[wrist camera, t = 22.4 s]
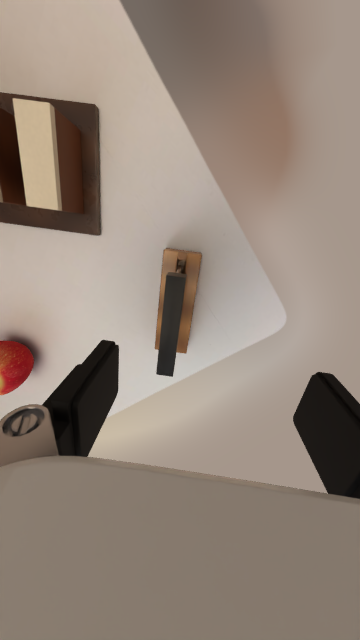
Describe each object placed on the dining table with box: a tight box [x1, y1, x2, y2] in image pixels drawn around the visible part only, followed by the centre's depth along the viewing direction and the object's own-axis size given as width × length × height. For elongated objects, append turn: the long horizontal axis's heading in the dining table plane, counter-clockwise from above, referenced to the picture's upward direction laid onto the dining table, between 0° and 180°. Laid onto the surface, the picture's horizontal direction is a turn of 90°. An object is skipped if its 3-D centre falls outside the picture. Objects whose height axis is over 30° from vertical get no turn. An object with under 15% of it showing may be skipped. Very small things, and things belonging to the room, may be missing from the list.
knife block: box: [155, 248, 202, 353], centre depth 33 cm, size 15×5×3 cm, turn 173°
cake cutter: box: [156, 262, 187, 377], centre depth 29 cm, size 12×2×10 cm, turn 173°
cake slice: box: [13, 98, 84, 214], centre depth 25 cm, size 9×4×6 cm, turn 173°
